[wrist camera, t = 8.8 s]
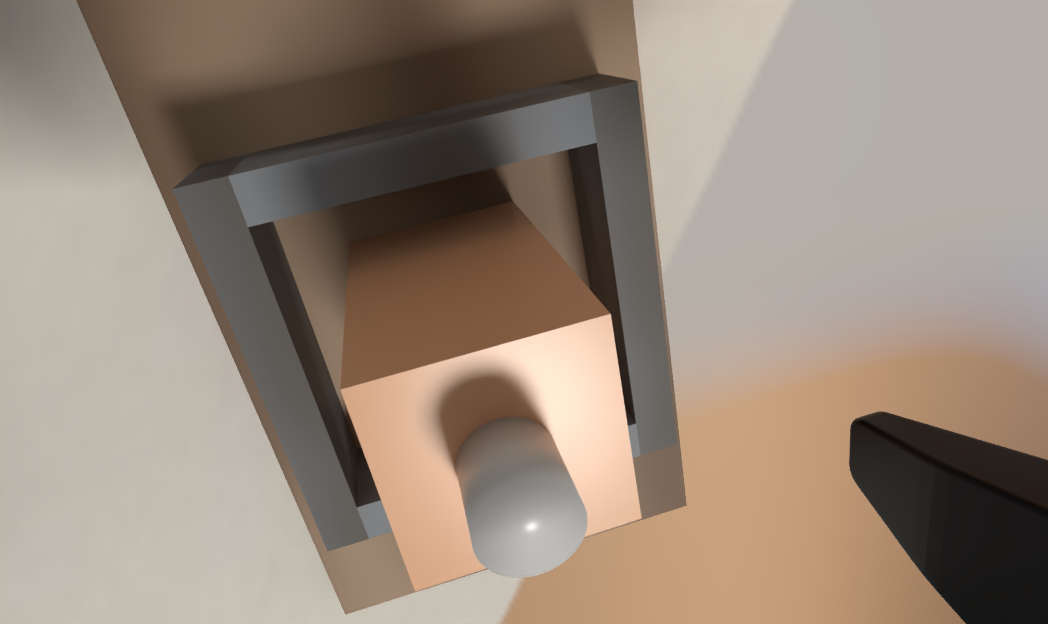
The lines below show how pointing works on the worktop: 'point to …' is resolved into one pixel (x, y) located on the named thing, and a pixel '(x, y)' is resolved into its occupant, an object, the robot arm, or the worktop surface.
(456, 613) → the worktop surface
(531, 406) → the connector
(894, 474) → the robot arm
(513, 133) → the end holder
